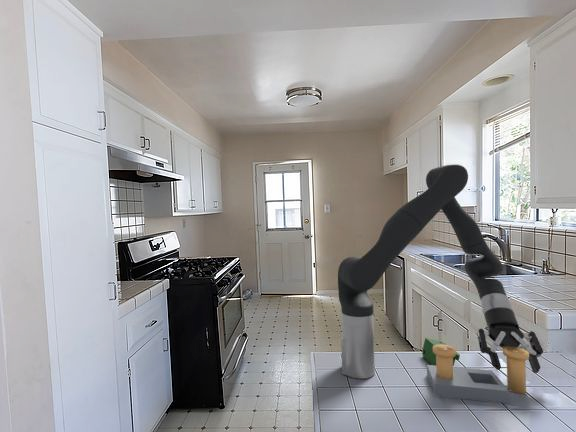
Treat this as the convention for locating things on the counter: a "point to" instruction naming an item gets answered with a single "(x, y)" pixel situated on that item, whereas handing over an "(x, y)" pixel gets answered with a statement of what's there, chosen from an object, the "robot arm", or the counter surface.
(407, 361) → the counter surface
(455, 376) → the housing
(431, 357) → the clamp
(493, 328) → the robot arm
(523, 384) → the tan peg
